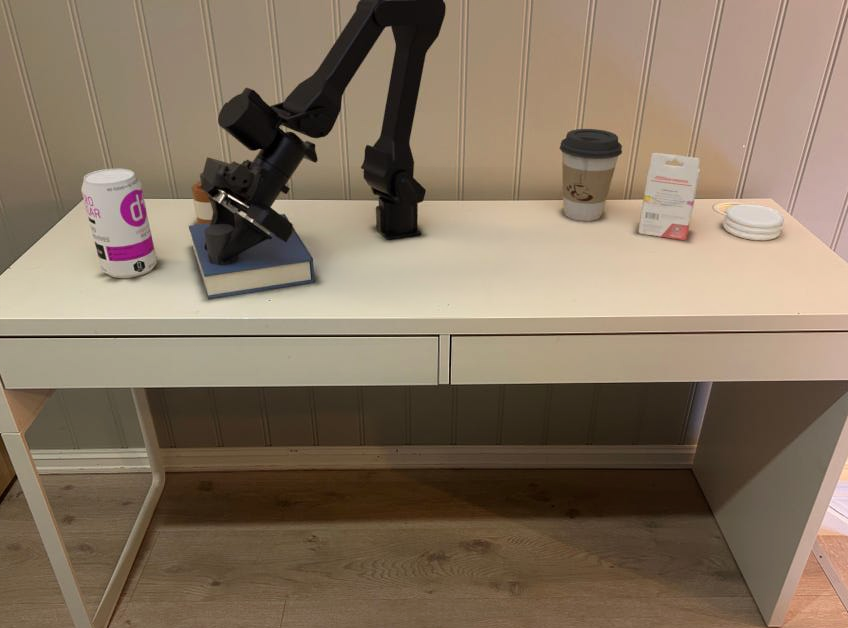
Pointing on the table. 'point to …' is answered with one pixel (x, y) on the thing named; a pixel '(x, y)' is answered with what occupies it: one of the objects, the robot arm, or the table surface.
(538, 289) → the table surface
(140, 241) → the supplement can
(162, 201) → the table surface
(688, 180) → the ink cartridge box
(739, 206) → the white layered disc
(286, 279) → the book
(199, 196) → the brown striped cylinder
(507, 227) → the table surface
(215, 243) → the cap
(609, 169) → the coffee cup
